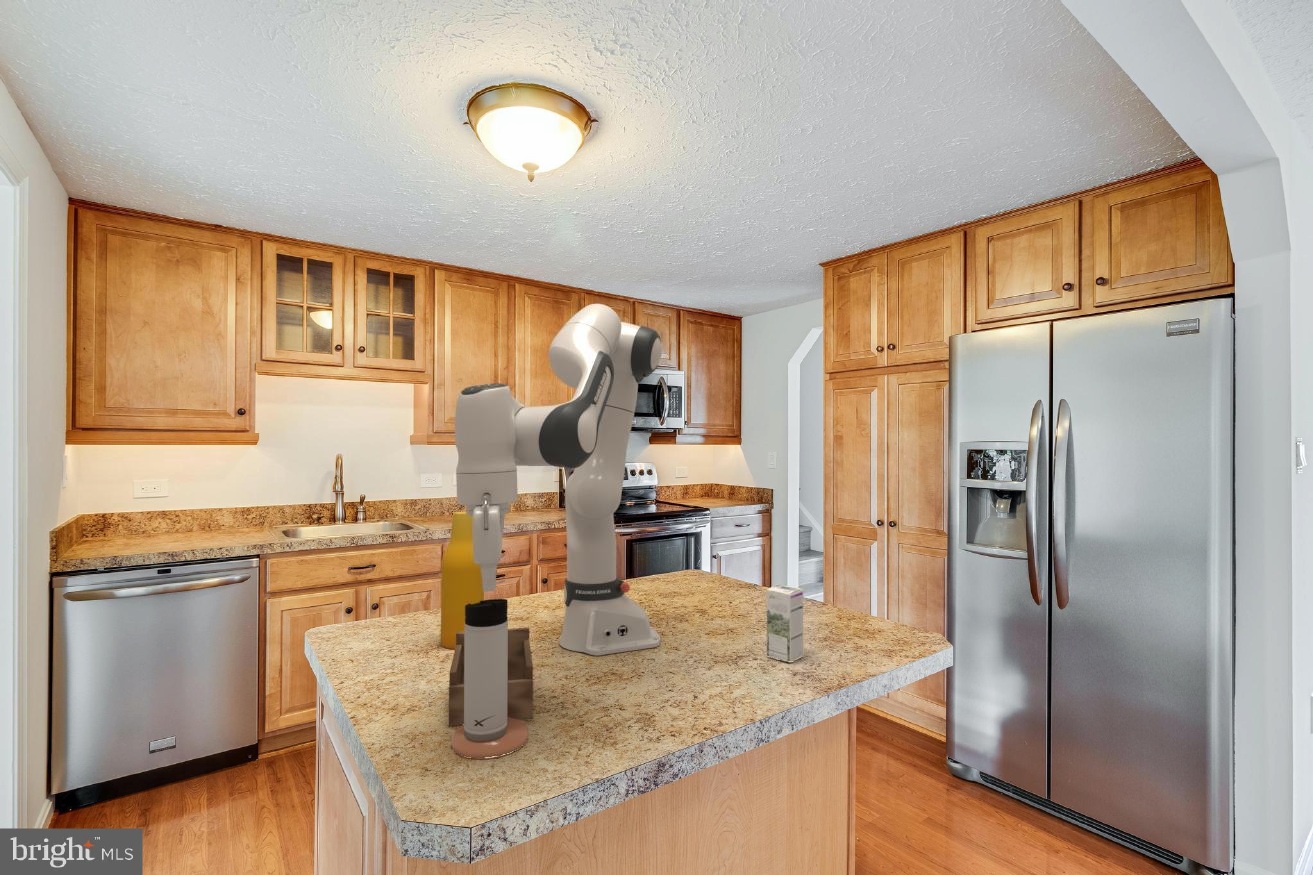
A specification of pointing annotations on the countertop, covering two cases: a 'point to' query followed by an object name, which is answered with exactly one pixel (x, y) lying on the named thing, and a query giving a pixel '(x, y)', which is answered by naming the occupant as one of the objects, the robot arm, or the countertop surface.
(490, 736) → the travel mug
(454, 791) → the countertop surface
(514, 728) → the saucer
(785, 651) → the syrup box
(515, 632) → the frame
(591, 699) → the countertop surface
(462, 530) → the beer bottle
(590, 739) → the countertop surface
